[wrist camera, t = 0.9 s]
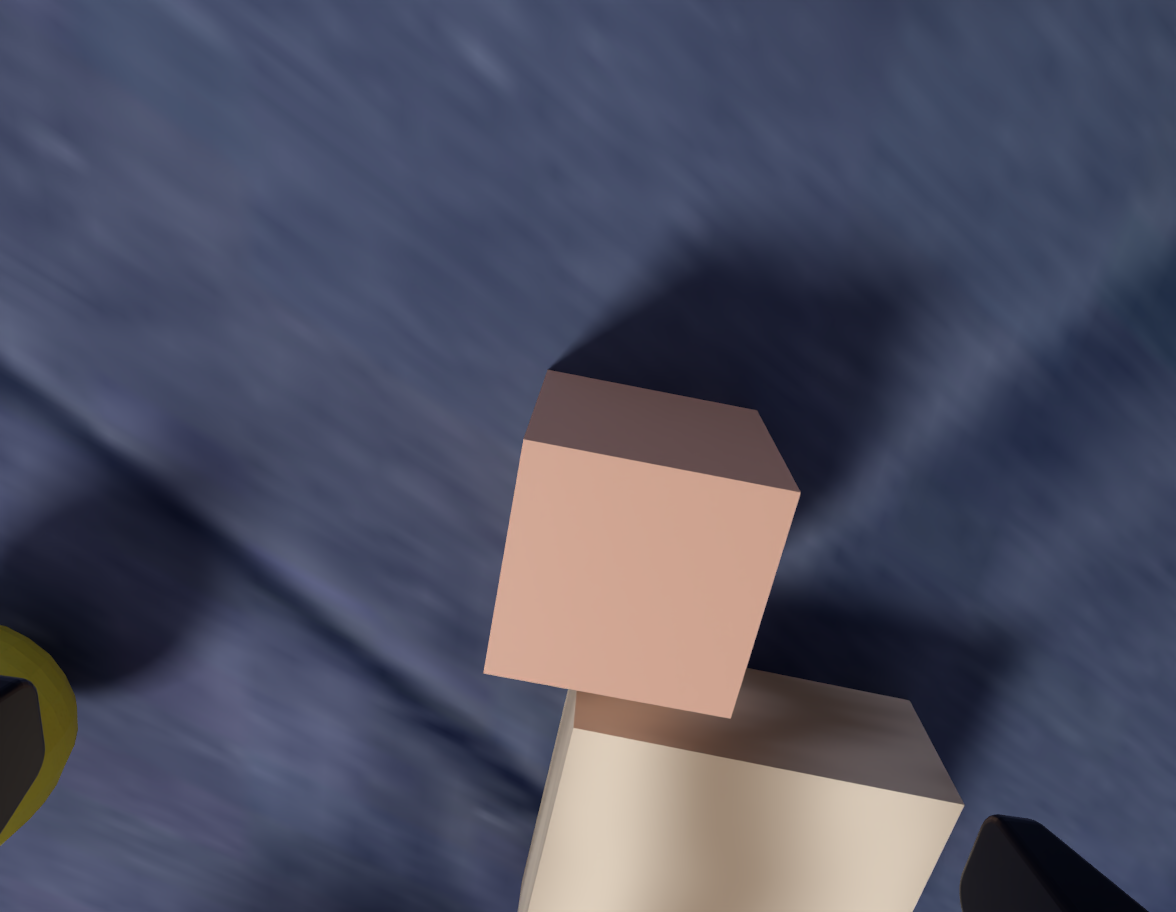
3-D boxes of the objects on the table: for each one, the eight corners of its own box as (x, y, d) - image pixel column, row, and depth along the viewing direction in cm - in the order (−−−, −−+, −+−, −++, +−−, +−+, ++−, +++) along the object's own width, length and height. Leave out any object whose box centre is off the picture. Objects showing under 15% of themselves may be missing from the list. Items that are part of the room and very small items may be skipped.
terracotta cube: (756, 409, 19) (801, 492, 14) (705, 591, 21) (730, 718, 16) (548, 368, 19) (523, 438, 14) (514, 555, 20) (483, 673, 16)
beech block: (906, 693, 22) (964, 805, 18) (806, 926, 25) (838, 1062, 21) (582, 627, 21) (573, 727, 18) (523, 872, 25) (505, 1001, 21)
